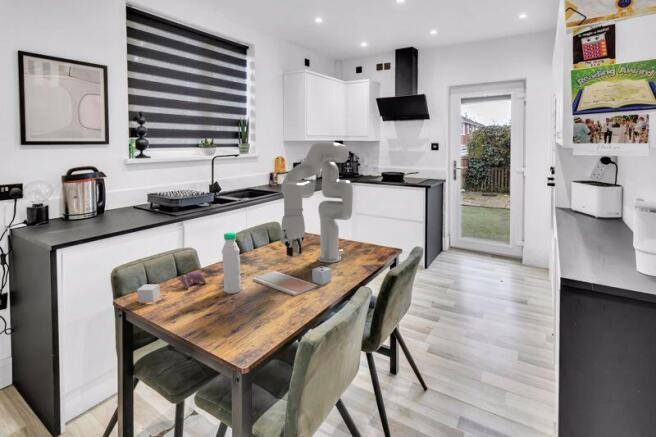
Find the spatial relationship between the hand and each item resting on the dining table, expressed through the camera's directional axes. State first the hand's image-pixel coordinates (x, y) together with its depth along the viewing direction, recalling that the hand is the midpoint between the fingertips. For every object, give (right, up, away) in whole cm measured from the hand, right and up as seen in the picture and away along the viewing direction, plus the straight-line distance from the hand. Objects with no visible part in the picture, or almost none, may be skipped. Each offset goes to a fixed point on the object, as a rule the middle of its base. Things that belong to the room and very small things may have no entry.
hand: (294, 254), depth 165 cm
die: (+12, -13, +10) cm, 20 cm away
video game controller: (-45, -15, +5) cm, 47 cm away
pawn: (0, -1, 0) cm, 1 cm away
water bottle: (-26, -16, -1) cm, 30 cm away
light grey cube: (-56, -18, -11) cm, 60 cm away
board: (-5, -14, +7) cm, 16 cm away
